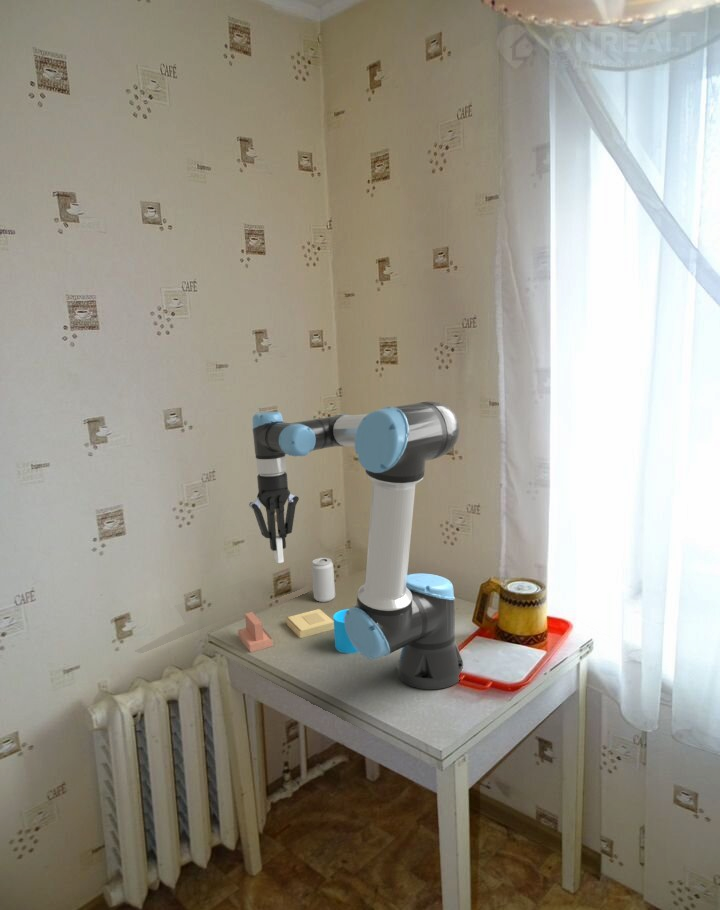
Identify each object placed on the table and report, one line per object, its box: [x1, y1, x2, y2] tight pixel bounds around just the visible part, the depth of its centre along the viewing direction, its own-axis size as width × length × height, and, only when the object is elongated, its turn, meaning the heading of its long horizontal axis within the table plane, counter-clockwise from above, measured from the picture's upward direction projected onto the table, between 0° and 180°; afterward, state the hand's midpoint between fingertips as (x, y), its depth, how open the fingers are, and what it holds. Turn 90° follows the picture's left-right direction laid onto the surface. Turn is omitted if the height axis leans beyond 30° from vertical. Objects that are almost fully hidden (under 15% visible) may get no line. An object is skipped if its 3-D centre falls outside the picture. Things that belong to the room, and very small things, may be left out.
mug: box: [333, 608, 359, 654], centre depth 172 cm, size 12×8×8 cm
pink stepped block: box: [237, 611, 274, 653], centre depth 176 cm, size 10×6×6 cm, turn 27°
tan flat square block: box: [285, 608, 334, 639], centre depth 183 cm, size 10×10×2 cm
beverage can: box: [311, 557, 336, 603], centre depth 200 cm, size 6×6×12 cm
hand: (279, 561), depth 175 cm, fingers closed
